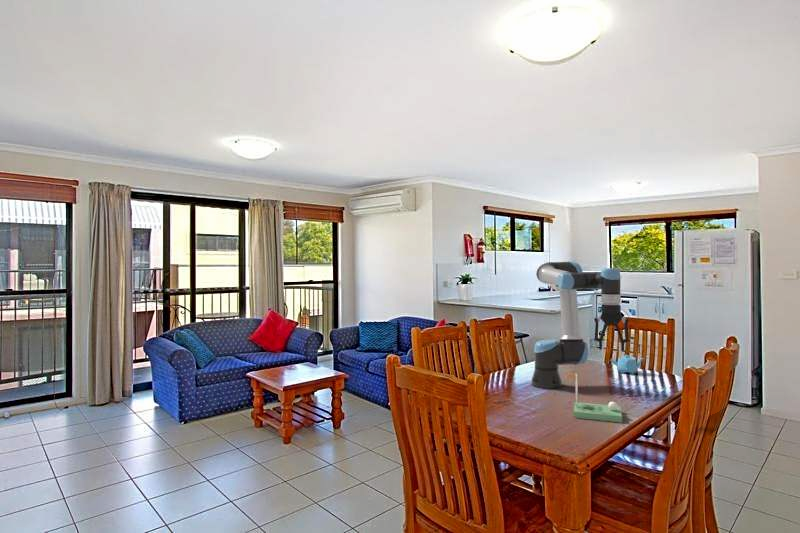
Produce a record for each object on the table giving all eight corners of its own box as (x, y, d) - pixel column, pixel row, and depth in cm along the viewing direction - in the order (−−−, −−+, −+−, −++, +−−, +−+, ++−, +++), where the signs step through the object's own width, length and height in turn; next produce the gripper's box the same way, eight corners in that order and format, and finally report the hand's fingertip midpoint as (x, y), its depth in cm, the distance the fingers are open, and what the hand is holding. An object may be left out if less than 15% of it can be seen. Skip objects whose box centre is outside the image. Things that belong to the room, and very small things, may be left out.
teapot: (610, 373, 265) (609, 356, 265) (610, 368, 278) (610, 351, 278) (645, 376, 257) (645, 358, 257) (644, 371, 270) (644, 354, 270)
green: (567, 416, 192) (566, 377, 192) (568, 407, 205) (568, 369, 205) (622, 422, 185) (621, 381, 185) (620, 412, 198) (619, 373, 197)
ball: (608, 411, 191) (608, 402, 191) (608, 408, 195) (607, 400, 195) (617, 412, 190) (617, 403, 190) (617, 409, 193) (617, 400, 193)
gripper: (587, 304, 200) (587, 357, 200) (636, 305, 192) (637, 360, 192) (587, 302, 207) (587, 354, 207) (634, 303, 199) (635, 357, 199)
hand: (611, 357), depth 200 cm, fingers open, 6 cm apart
